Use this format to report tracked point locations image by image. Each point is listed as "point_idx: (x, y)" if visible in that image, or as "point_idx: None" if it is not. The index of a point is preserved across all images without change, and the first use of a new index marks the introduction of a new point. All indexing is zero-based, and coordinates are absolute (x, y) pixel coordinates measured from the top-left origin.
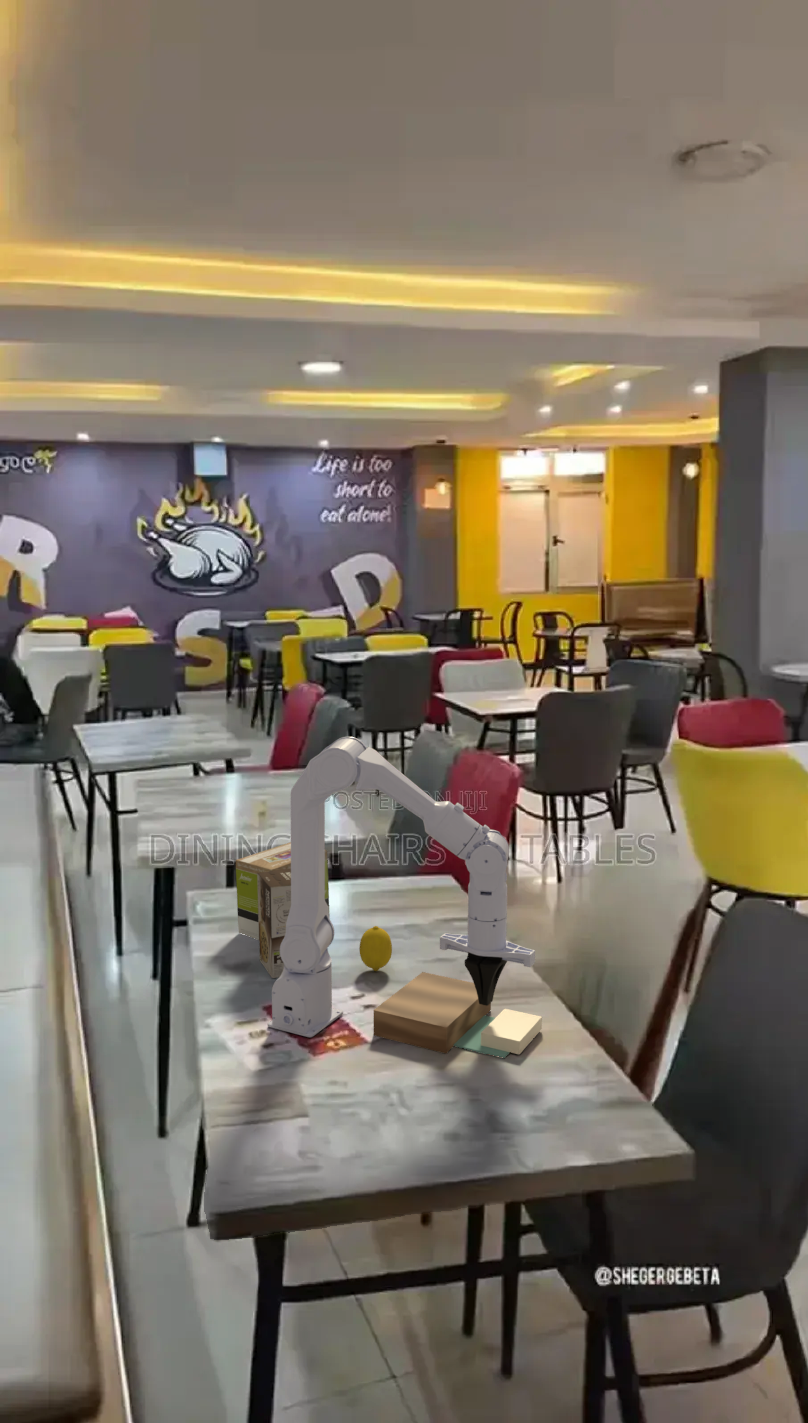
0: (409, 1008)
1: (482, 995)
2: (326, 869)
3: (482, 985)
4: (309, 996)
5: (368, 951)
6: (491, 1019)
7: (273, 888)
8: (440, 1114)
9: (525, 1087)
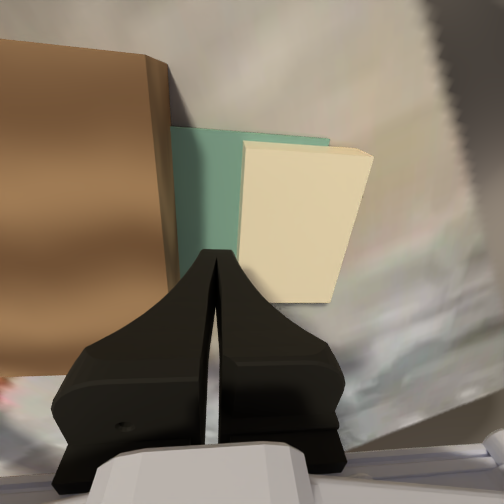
0: (25, 339)
1: (214, 313)
2: None
3: (209, 335)
4: None
5: None
6: (204, 148)
7: None
8: None
9: (343, 350)
